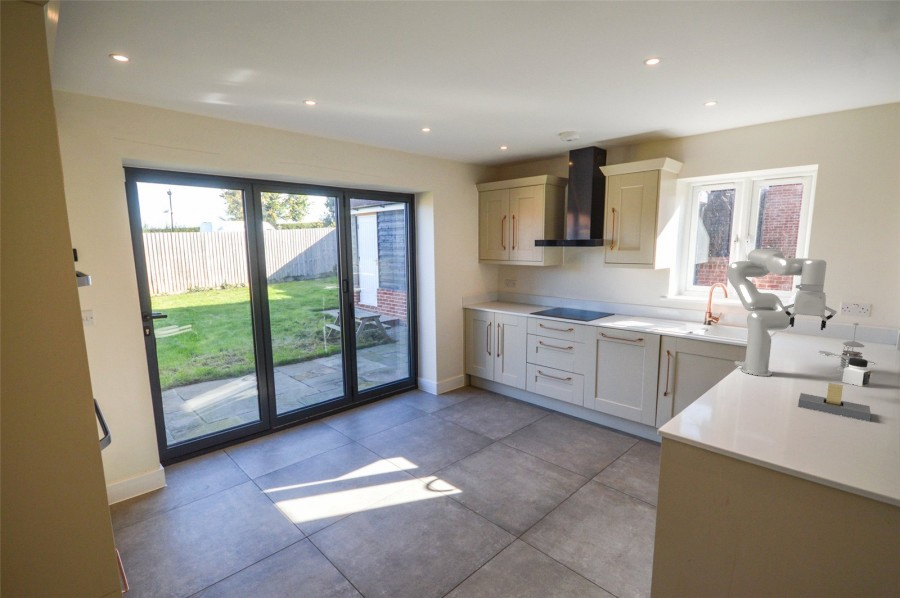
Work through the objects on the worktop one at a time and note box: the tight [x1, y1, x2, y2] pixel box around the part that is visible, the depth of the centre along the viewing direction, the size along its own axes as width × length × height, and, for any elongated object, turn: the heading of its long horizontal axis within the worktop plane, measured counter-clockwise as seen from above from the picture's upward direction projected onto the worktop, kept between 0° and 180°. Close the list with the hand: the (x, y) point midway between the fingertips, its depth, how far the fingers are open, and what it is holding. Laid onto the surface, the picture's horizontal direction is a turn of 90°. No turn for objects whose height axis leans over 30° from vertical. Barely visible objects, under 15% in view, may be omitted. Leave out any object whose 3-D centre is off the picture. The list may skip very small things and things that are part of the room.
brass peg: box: [826, 382, 844, 406], centre depth 159 cm, size 4×4×10 cm
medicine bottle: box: [841, 358, 872, 387], centre depth 190 cm, size 7×7×12 cm
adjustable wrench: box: [818, 350, 875, 364], centre depth 234 cm, size 25×6×2 cm, turn 17°
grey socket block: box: [797, 392, 871, 422], centre depth 160 cm, size 20×10×3 cm, turn 46°
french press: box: [837, 322, 865, 372], centre depth 210 cm, size 10×12×25 cm
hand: (806, 328), depth 177 cm, fingers open, 9 cm apart
